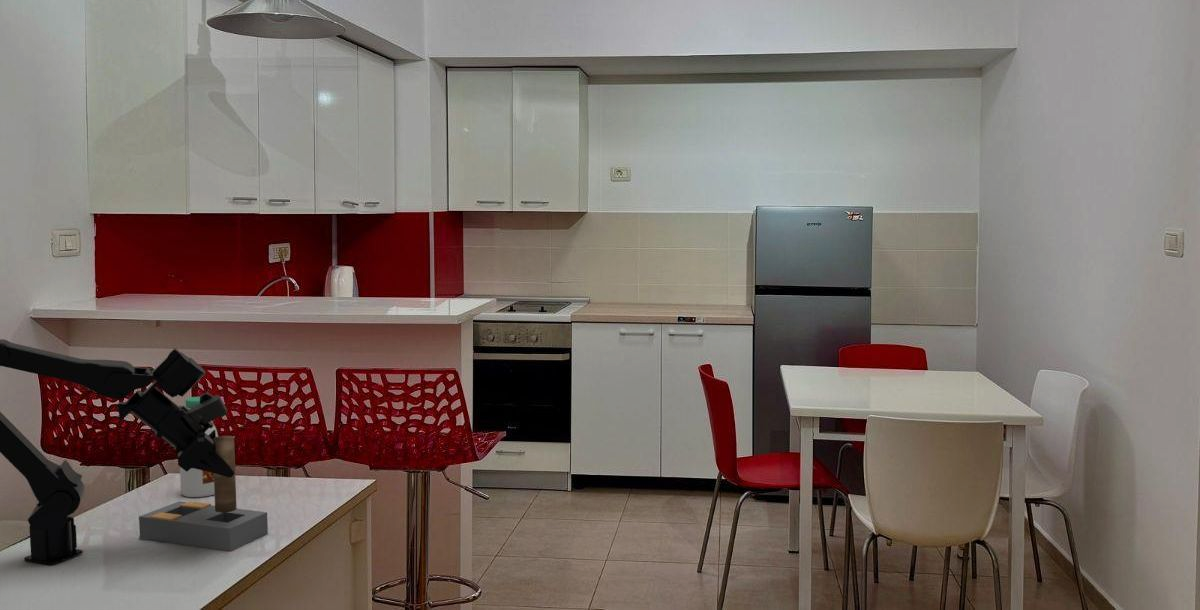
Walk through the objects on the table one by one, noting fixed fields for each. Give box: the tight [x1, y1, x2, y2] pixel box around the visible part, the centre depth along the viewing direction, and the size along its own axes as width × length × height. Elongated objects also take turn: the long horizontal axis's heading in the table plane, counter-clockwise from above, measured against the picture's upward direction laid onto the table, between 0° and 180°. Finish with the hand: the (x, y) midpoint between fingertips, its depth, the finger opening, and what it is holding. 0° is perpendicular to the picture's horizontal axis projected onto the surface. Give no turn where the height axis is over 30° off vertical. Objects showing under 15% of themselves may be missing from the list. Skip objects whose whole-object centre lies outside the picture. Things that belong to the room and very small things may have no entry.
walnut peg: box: [213, 435, 238, 513], centre depth 183 cm, size 4×4×13 cm
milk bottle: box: [179, 396, 219, 498], centre depth 212 cm, size 8×8×20 cm
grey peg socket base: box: [138, 500, 269, 552], centre depth 185 cm, size 20×10×4 cm, turn 70°
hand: (232, 472), depth 183 cm, fingers closed on walnut peg, 4 cm apart
